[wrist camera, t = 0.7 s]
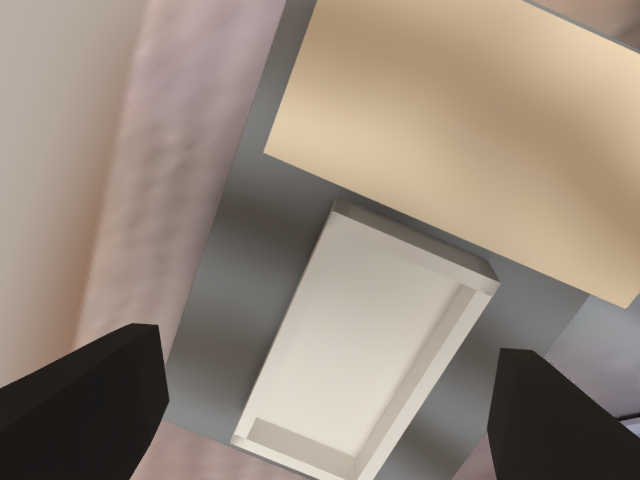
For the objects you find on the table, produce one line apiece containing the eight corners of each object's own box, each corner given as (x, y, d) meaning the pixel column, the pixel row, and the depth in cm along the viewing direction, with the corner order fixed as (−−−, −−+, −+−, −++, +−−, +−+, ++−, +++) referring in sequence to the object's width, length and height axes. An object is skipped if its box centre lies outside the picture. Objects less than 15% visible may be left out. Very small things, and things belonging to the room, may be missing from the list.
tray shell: (363, 460, 22) (361, 496, 20) (242, 411, 22) (229, 443, 20) (487, 260, 18) (500, 283, 16) (337, 195, 17) (332, 210, 16)
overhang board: (416, 508, 24) (426, 614, 19) (156, 403, 23) (103, 485, 19) (722, 94, 15) (871, 105, 11) (321, -88, 15) (296, -159, 10)
